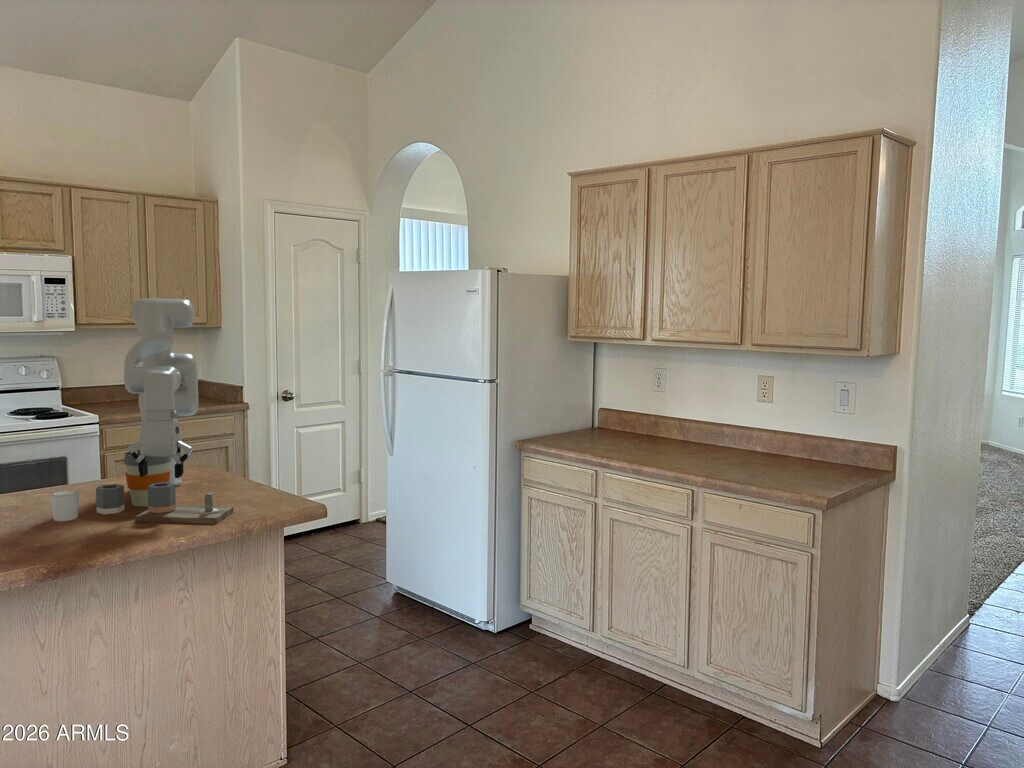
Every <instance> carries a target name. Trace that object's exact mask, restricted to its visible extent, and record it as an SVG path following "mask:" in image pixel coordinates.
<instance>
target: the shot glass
mask: <svg viewBox="0 0 1024 768" xmlns="http://www.w3.org/2000/svg"><path fill="white" fill-rule="evenodd" d="M49 495H50V503H51V508H52V509H51V510H52V516H53V521H54V522H55V521H56V522H66V521H68V522H69V521H73V520H76V519H78V517H79V503H80V502H79V499H80V491H78V490H61V491H55V492H52V493H50V494H49Z"/></svg>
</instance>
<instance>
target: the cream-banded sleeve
mask: <svg viewBox="0 0 1024 768" xmlns="http://www.w3.org/2000/svg"><path fill="white" fill-rule="evenodd" d="M95 499H96V500H95V501H96V513H97V514H100V515H101V514H102V515H109V514H110V515H111V514H118V513H119V514H120V513H121V512H122V511H124V510H125V485H123V484H119V483H111V484H109V483H108V484H102V485H100V486H97V487H95Z"/></svg>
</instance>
